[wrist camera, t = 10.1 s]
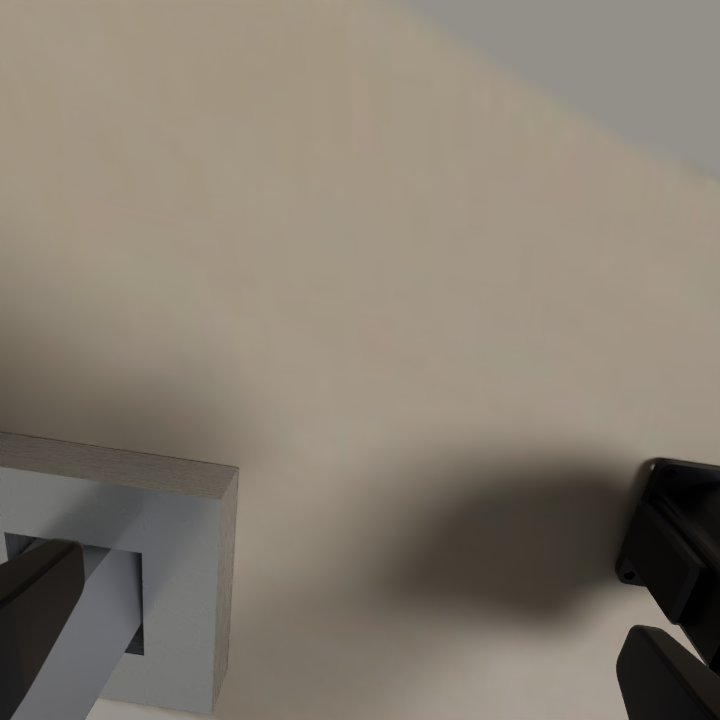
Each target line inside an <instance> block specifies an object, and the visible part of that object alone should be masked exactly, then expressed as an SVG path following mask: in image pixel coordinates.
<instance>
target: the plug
mask: <svg viewBox="0 0 720 720" xmlns="http://www.w3.org/2000/svg"><path fill="white" fill-rule="evenodd" d="M49 540H51V539H46V538H39V537H38V538H37V539H36V540H35V541H34V542H33V543H32V544H31V545H30V546H29V547H28V548H27V549H26V550H25V551H24V552H26V551H28V550H30V549H32V548H34V547H36V546H39V545H41V544H43V543H45V542H47V541H49ZM82 546H83V554H84V568H85V586H84V590H83V592H82V595H81V597H80V599H79V601H78V603H77V604H76V606H75V608H74V610H73V612H72V614H71V615H70V617H69V619H68V621H67V623H66V624H65V626H64V628H63V630H62V632H61V634H60V635H59V637H58V639H57V641H56V643H55V645H54V646H53V648H52V650H51V652H50V654H49V655H48V657H47V659H46V661H45V663H44V665H43V666H42V668H41V670H40V672H39V674H38V676H37V677H36V679H35V681H34V683H33V684H32V686H31V688H30V689H29V691H28V693H27V695H26V696H25V698H24V699H23V701H22V703H21V704H20V706H19V707H18V709H17V710H16V712H15V713H14V715H13V716H12V718H11V719H10V720H85V719H86V717H87V715H88V713H89V712H90V710H91V708H92V707H93V705H94V703H95V701H96V700H97V698H98V696H99V695H100V693H101V691H102V689H103V688H104V686H105V684H106V683H107V681H108V679H109V677H110V676H111V674H112V672H113V671H114V669H115V667H116V665H117V664H118V662H119V660H120V659H121V657H122V655H123V653H124V652H125V650H126V648H127V647H128V645H129V643H130V641H131V640H132V638H133V636H134V634H135V633H136V631H137V629H138V628H139V626H140V624H141V622H142V621H143V580H142V553H138V552H131V551H125V550H118V549H112V548H105V547H98V546H92V545H85V544H82ZM24 552H23V553H24Z"/></svg>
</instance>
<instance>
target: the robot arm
mask: <svg viewBox="0 0 720 720" xmlns="http://www.w3.org/2000/svg"><path fill="white" fill-rule="evenodd" d="M669 469H671V471H670V472H669V473H668V474H664V473H665V472H666V471H667V470H669ZM614 571H615V573H616V575H617V577H618V579H619V580H620V581H621V582H622V583H625V584H631V585H638V586H644V587H647V589H648V590H649V592H650V593H651V595H652V596H653V598H654V599H655V601H656V602H657V604H658V605H659V607H660V608H661V610H662V611H663V613H664V614H665V616H666V617H667V619H668V620H669V622H670V623H671V624H673V625H679V626H680V627H681V629H682V630H683V632H684V633H685V635H686V636H687V638H688V639H689V641H690V642H691V644H692V645H693V647H694V648H695V650H696V651H697V653H698V654H699V656H700V657H701V658H702V660H703V661H704V663H705V664H706V665H705V664H703V663H702V662H701V661H700V660H699V659H697V658H696V657H695V656H694V655H693V654H692V653H690V652H689V651H688V650H687V649H686V648H684V647H683V646H682V645H681V644H680V643H679V642H677V641H676V640H675V639H674V638H673V637H671V636H670V635H669V634H668V633H667V632H665V631H664V630H662V629H660V628H657V627H650V626H644V625H634V626H633V627H632V628H631V629H630V631H629V633H628V635H627V638H626V640H625V642H624V645H623V647H622V649H621V652H620V654H619V656H618V659H617V664H616V673H617V678H618V682H619V686H620V689H621V693H622V696H623V700H624V704H625V707H626V711H627V714H628V718H629V720H720V467H718V466H711V465H704V464H697V463H691V462H684V461H677V460H670V459H664V460H662V461H659V462H658V463H657V464H656V465H655V467H654V468H653V471H652V474H651V476H650V479H649V481H648V484H647V486H646V489H645V492H644V494H643V497H642V499H641V502H640V504H639V505H638V506H637V509H636V511H635V514H634V516H633V519H632V522H631V524H630V527H629V529H628V532H627V534H626V537H625V540H624V542H623V545H622V550H621V553H620V556H619V558H618V561H617V563H616V566H615V570H614ZM627 571H630V572H628V573H625V572H627ZM84 586H85V568H84V554H83V546H82V544H81V543H80V542H78V541H76V540H69V539H62V538H54V539H51V540H49V541H47V542H45V543H43V544H41V545H39V546H36V547H34V548H32V549H30V550H28V551H26V552H24V553H22V554H20V555H18V556H16V557H14V558H12V559H10V560H8V561H6V562H4V563H2V564H0V720H10V719H11V718H12V716H13V715H14V713H15V712H16V710H17V709H18V707H19V706H20V704H21V703H22V701H23V699H24V698H25V696H26V695H27V693H28V691H29V689H30V688H31V686H32V684H33V683H34V681H35V679H36V677H37V676H38V674H39V672H40V670H41V668H42V666H43V665H44V663H45V661H46V659H47V657H48V655H49V654H50V652H51V650H52V648H53V646H54V645H55V643H56V641H57V639H58V637H59V635H60V634H61V632H62V630H63V628H64V626H65V624H66V623H67V621H68V619H69V617H70V615H71V614H72V612H73V610H74V608H75V606H76V604H77V603H78V601H79V599H80V597H81V595H82V592H83V590H84Z"/></svg>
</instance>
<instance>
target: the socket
mask: <svg viewBox="0 0 720 720" xmlns="http://www.w3.org/2000/svg"><path fill="white" fill-rule="evenodd" d="M238 470H239V468H237V467H231V466H224V465H217V464H211V463H204V462H197V461H190V460H184V459H177V458H170V457H164V456H157V455H150V454H143V453H137V452H130V451H123V450H117V449H110V448H103V447H97V446H90V445H83V444H76V443H70V442H63V441H56V440H50V439H43V438H36V437H30V436H23V435H16V434H9V433H3V432H0V564H2V563H4V562H6V561H8V560H10V559H12V558H14V557H16V556H18V555H20V554H22V553H23V552H24V551H25V550H26V549H27V548H28V547H29V546H30V545H31V544H32V543H33V542H34V541H35V540H36V539H37V538H38V537H39V538H46V539H54V538H62V539H69V540H76V541H78V542H80V543H81V544H85V545H92V546H98V547H105V548H112V549H118V550H125V551H131V552H138V553H142V580H143V621H142V622H141V624H140V626H139V628H138V629H137V631H136V633H135V634H134V636H133V638H132V640H131V641H130V643H129V645H128V647H127V648H126V650H125V652H124V653H123V655H122V657H121V659H120V660H119V662H118V664H117V665H116V667H115V669H114V671H113V672H112V674H111V676H110V677H109V679H108V681H107V683H106V684H105V686H104V688H103V689H102V691H101V693H100V695H99V696H98V698H105V699H111V700H118V701H124V702H130V703H137V704H143V705H150V706H156V707H163V708H169V709H176V710H182V711H189V712H195V713H201V714H208V715H211V714H212V711H213V708H214V706H215V703H216V700H217V697H218V694H219V691H220V688H221V685H222V682H223V679H224V676H225V674H226V671H227V662H228V645H229V627H230V610H231V592H232V575H233V557H234V540H235V523H236V505H237V488H238Z"/></svg>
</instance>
